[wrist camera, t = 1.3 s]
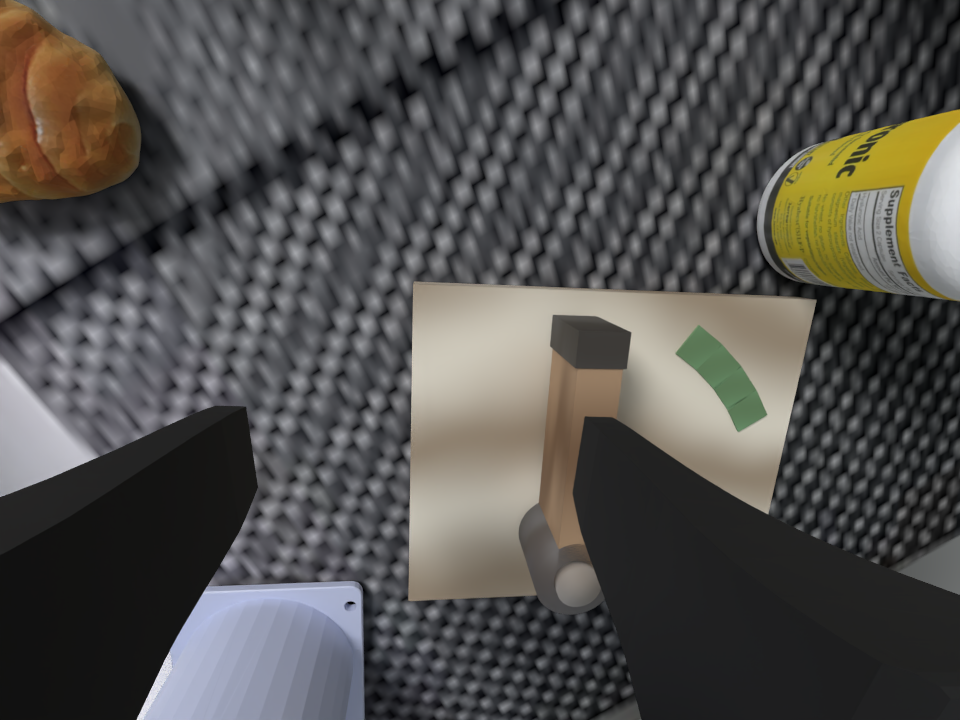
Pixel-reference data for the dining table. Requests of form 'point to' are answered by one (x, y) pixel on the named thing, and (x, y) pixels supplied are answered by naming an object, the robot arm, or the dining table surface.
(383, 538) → the dining table surface
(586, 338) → the pointer lever
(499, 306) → the dial board
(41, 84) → the pastry
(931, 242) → the supplement bottle
